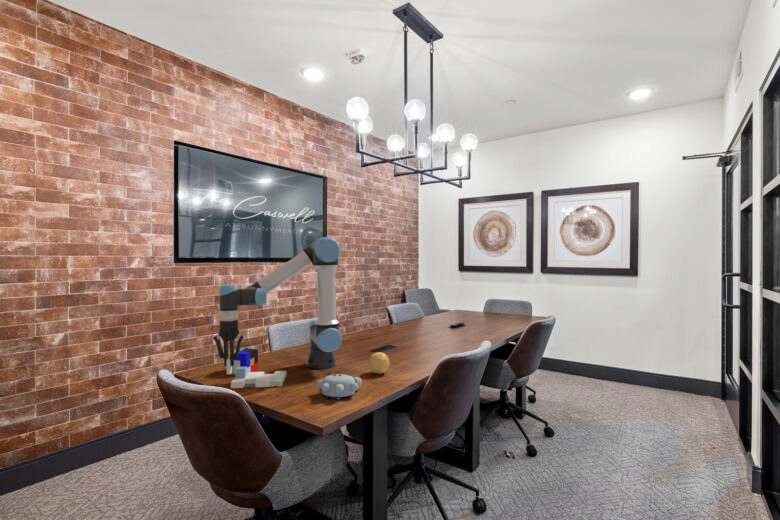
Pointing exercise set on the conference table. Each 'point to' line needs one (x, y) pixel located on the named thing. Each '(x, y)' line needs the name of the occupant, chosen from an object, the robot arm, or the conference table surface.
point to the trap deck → (260, 380)
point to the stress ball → (379, 362)
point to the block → (240, 372)
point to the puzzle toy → (246, 359)
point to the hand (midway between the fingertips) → (229, 373)
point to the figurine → (339, 385)
